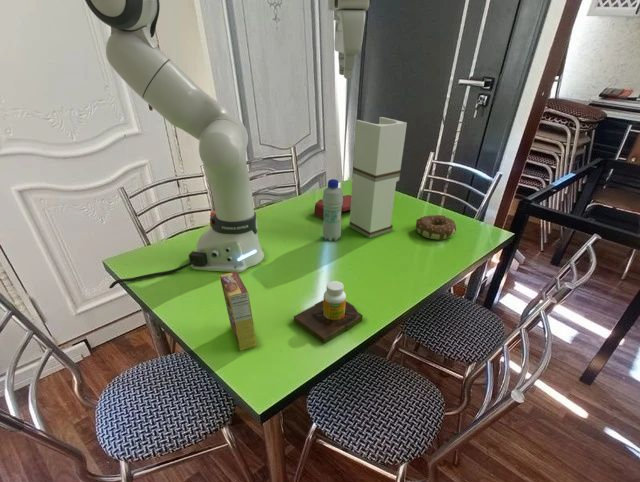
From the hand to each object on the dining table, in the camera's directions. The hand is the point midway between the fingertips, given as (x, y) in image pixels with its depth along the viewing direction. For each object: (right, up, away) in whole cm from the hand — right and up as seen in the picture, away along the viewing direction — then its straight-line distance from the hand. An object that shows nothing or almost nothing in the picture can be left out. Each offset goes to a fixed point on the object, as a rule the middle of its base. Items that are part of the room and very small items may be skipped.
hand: (345, 76), depth 88 cm
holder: (-4, -59, +3) cm, 59 cm away
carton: (+3, -14, +60) cm, 62 cm away
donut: (+35, -28, +43) cm, 62 cm away
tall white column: (+13, -25, +46) cm, 54 cm away
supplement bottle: (-3, -58, +4) cm, 59 cm away
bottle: (-2, -30, +39) cm, 50 cm away
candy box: (-24, -63, -2) cm, 68 cm away
